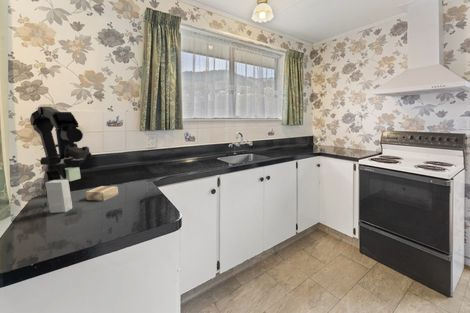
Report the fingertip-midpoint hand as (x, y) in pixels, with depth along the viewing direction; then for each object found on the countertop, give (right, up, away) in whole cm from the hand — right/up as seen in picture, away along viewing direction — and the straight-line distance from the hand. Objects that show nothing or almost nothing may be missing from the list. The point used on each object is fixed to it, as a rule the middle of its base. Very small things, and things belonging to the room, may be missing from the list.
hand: (70, 177), depth 99 cm
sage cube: (0, -1, 0) cm, 1 cm away
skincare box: (+4, -12, -10) cm, 16 cm away
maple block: (+11, -10, +6) cm, 16 cm away
